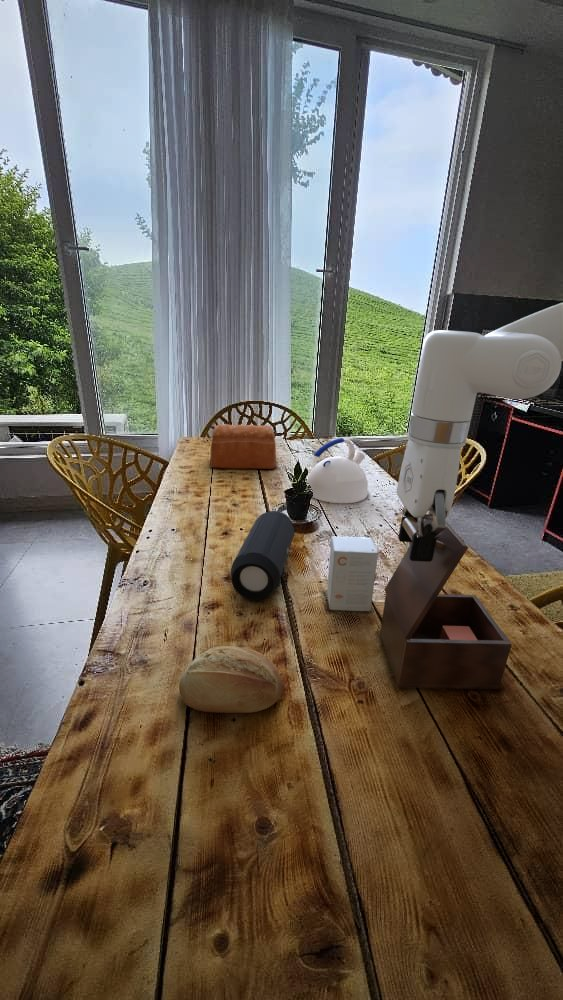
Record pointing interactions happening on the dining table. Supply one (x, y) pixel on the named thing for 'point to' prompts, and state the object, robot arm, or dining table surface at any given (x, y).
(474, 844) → the dining table surface
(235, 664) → the bread roll
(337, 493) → the kettle
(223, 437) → the bread
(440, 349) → the robot arm
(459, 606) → the chest
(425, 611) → the lid
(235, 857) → the dining table surface
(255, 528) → the portable speaker
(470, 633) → the block
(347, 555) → the small box
